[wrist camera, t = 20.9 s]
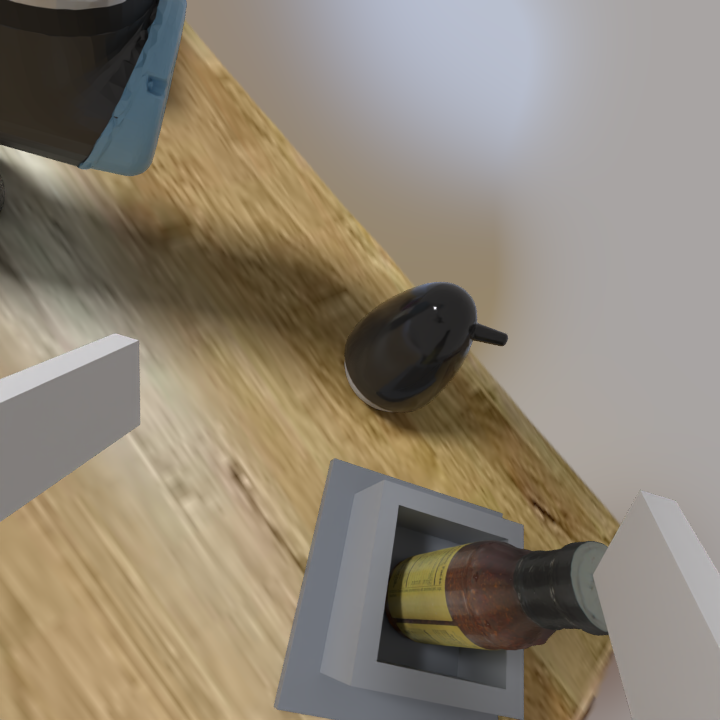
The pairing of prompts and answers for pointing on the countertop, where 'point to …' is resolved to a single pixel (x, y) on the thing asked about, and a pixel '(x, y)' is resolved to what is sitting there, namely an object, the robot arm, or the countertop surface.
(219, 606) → the countertop surface
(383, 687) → the bottle holder
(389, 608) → the sauce bottle
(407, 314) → the pump dispenser
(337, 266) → the countertop surface
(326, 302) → the countertop surface
